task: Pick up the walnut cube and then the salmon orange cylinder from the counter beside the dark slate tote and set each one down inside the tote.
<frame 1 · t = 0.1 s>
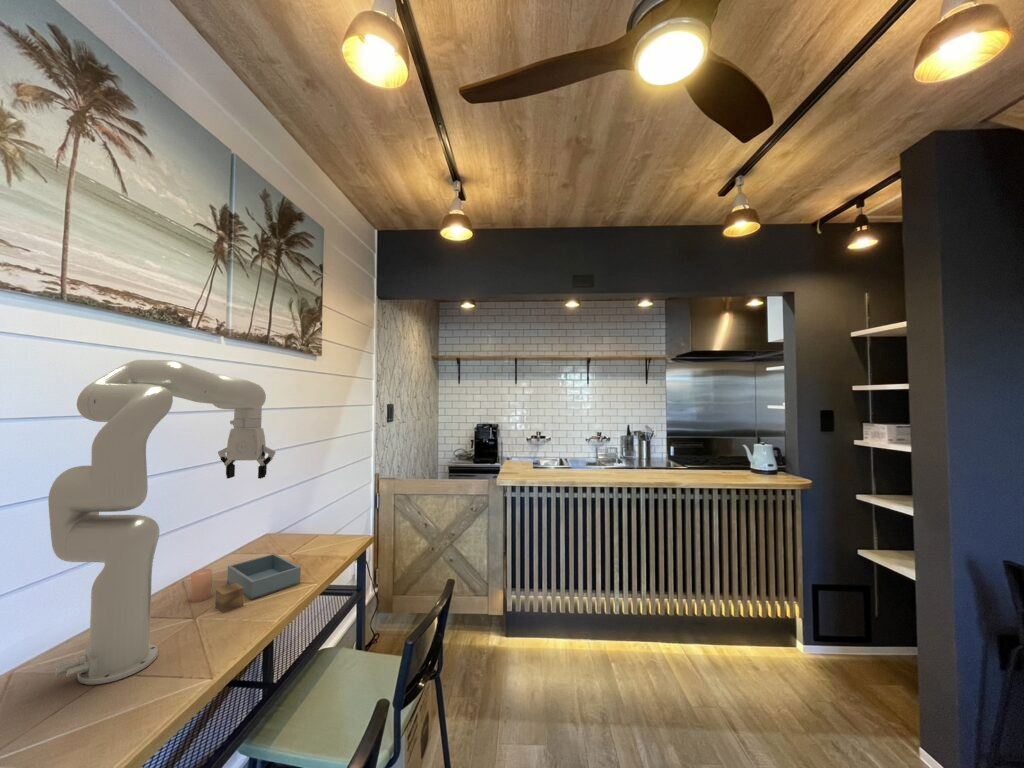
hand: (246, 477, 136), 31 cm above the table, fingers open, 9 cm apart
tote: (263, 583, 130), on the table
walnut cube: (229, 607, 116), on the table
salmon orange cylinder: (200, 597, 121), on the table
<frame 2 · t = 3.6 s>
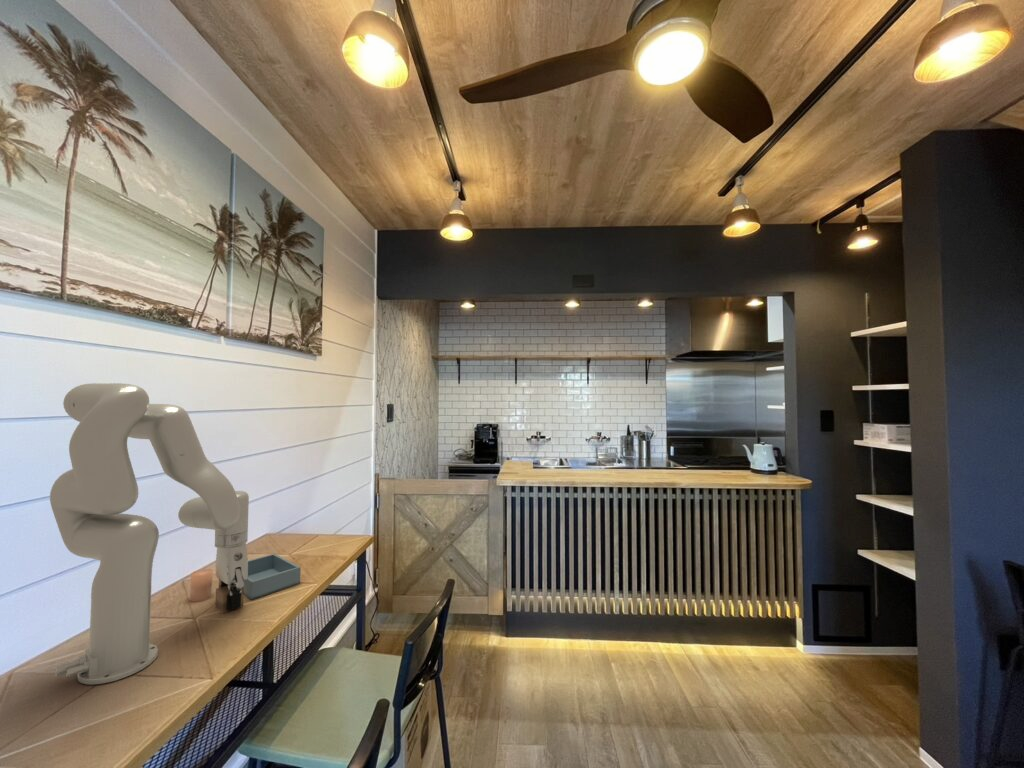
hand: (229, 604, 116), 0 cm above the table, fingers closed on walnut cube, 5 cm apart
walnut cube: (229, 606, 116), on the table, touching gripper
everything else where it was.
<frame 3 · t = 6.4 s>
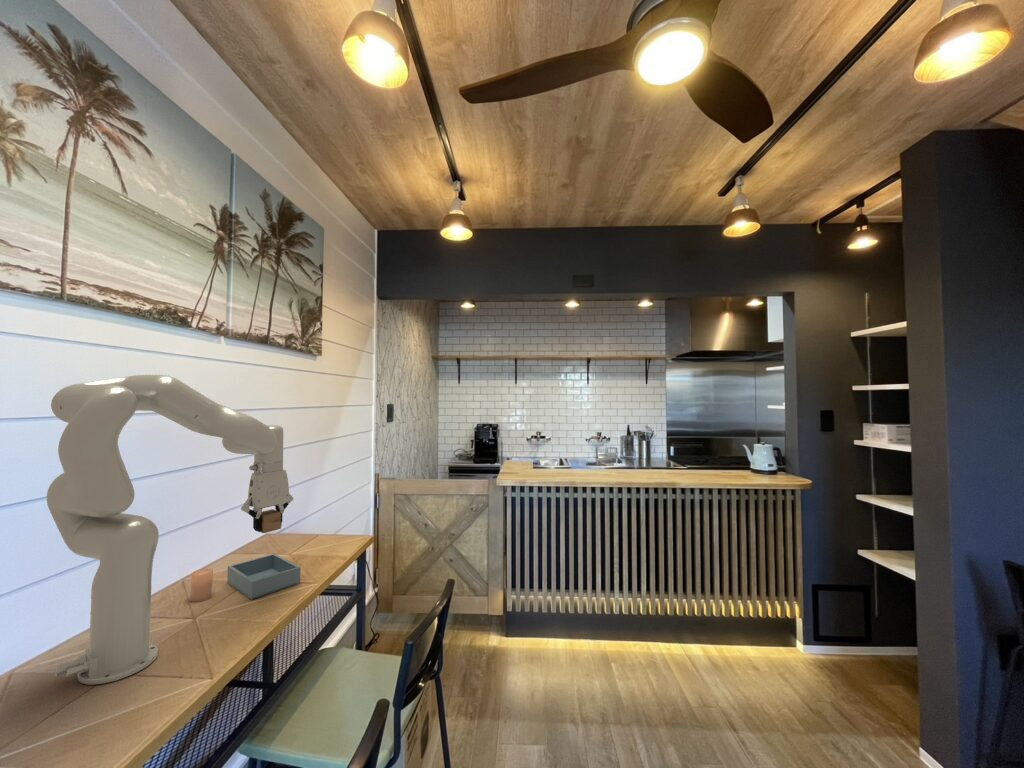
hand: (268, 527, 127), 18 cm above the table, fingers closed on walnut cube, 4 cm apart
walnut cube: (268, 529, 127), point 18 cm above the table, touching gripper
everything else where it was.
when the fingers open (4 cm above the table, at t = 9.5 s): walnut cube drops 3 cm, resting on tote.
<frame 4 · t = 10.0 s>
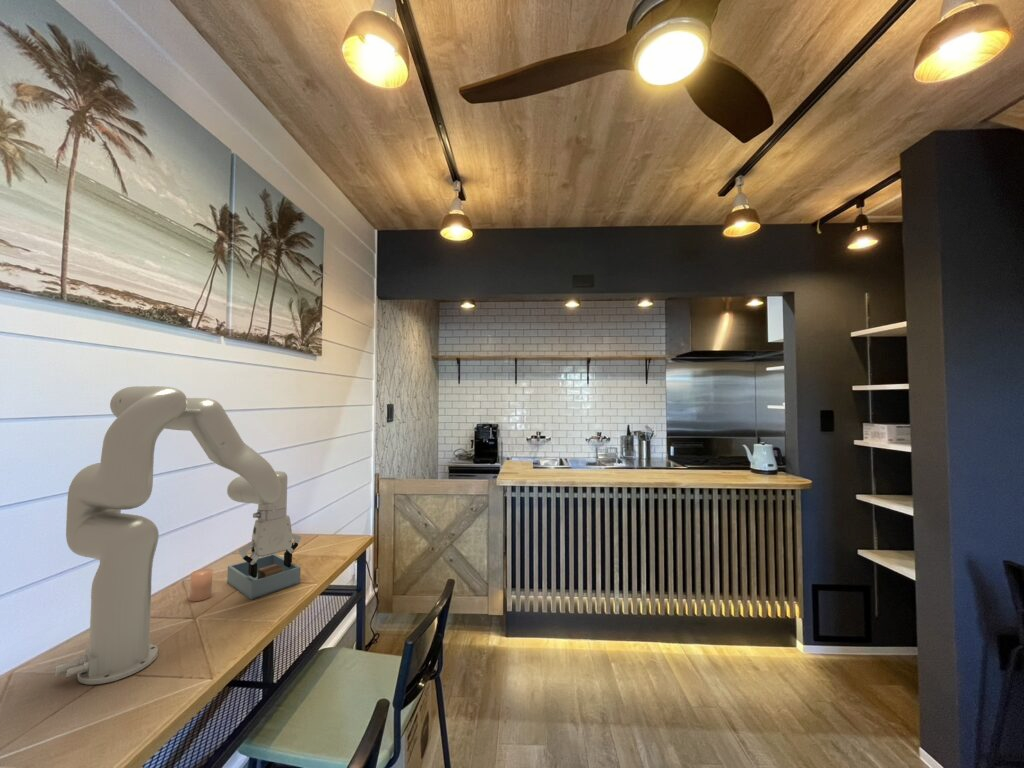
hand: (270, 571, 127), 5 cm above the table, fingers open, 9 cm apart
walnut cube: (270, 585, 127), point 1 cm above the table, touching tote
everything else where it was.
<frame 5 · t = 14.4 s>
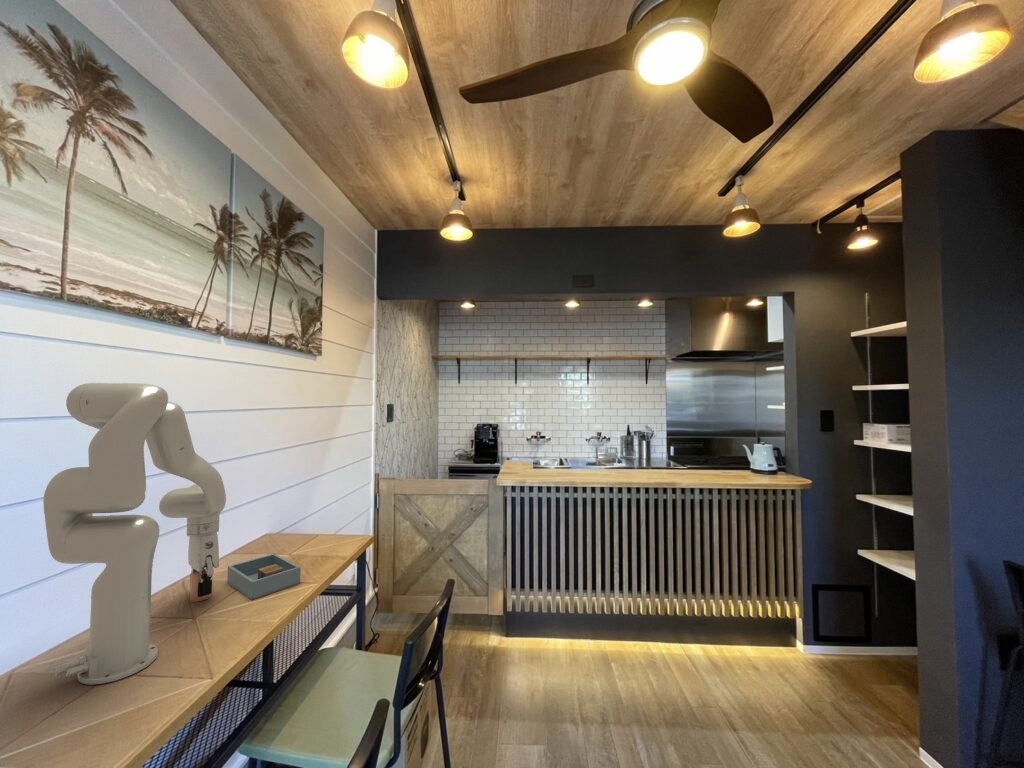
hand: (201, 591, 121), 2 cm above the table, fingers closed on salmon orange cylinder, 4 cm apart
salmon orange cylinder: (200, 597, 121), on the table, touching gripper
everything else where it was.
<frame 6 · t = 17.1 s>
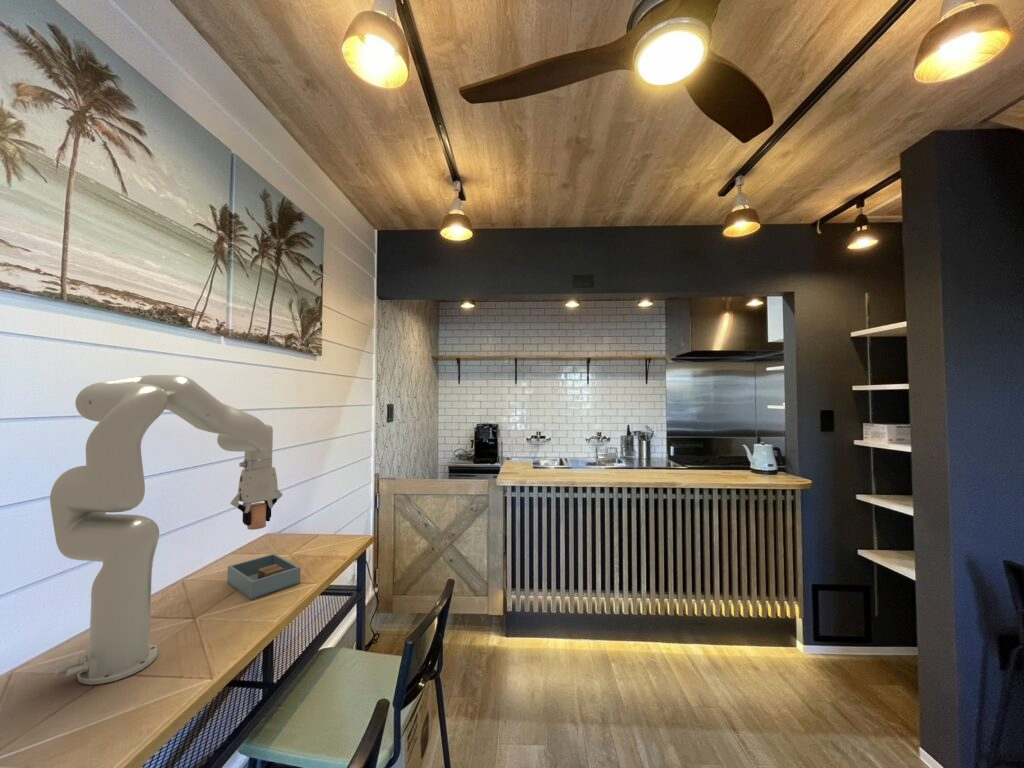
hand: (257, 522, 133), 18 cm above the table, fingers closed on salmon orange cylinder, 4 cm apart
salmon orange cylinder: (256, 527, 133), point 16 cm above the table, touching gripper
everything else where it was.
when the fingers open (5 cm above the table, at t = 20.0 s): salmon orange cylinder drops 2 cm, resting on tote.
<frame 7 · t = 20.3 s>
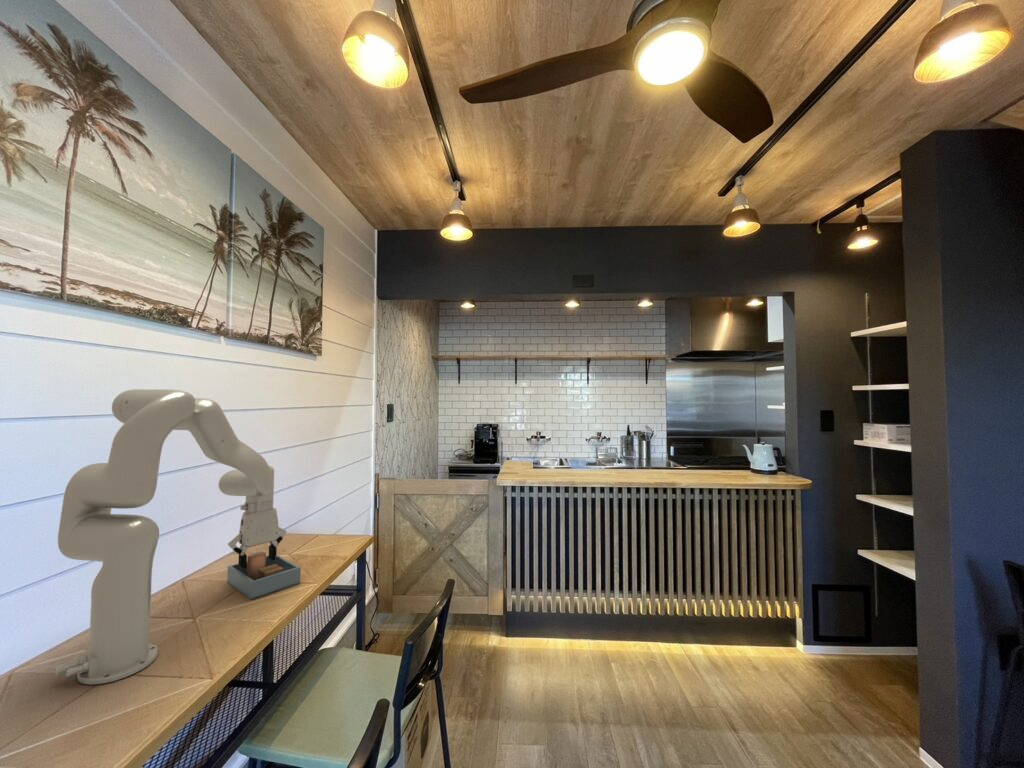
hand: (257, 562, 133), 5 cm above the table, fingers open, 7 cm apart
salmon orange cylinder: (256, 577, 132), point 1 cm above the table, touching tote
everything else where it was.
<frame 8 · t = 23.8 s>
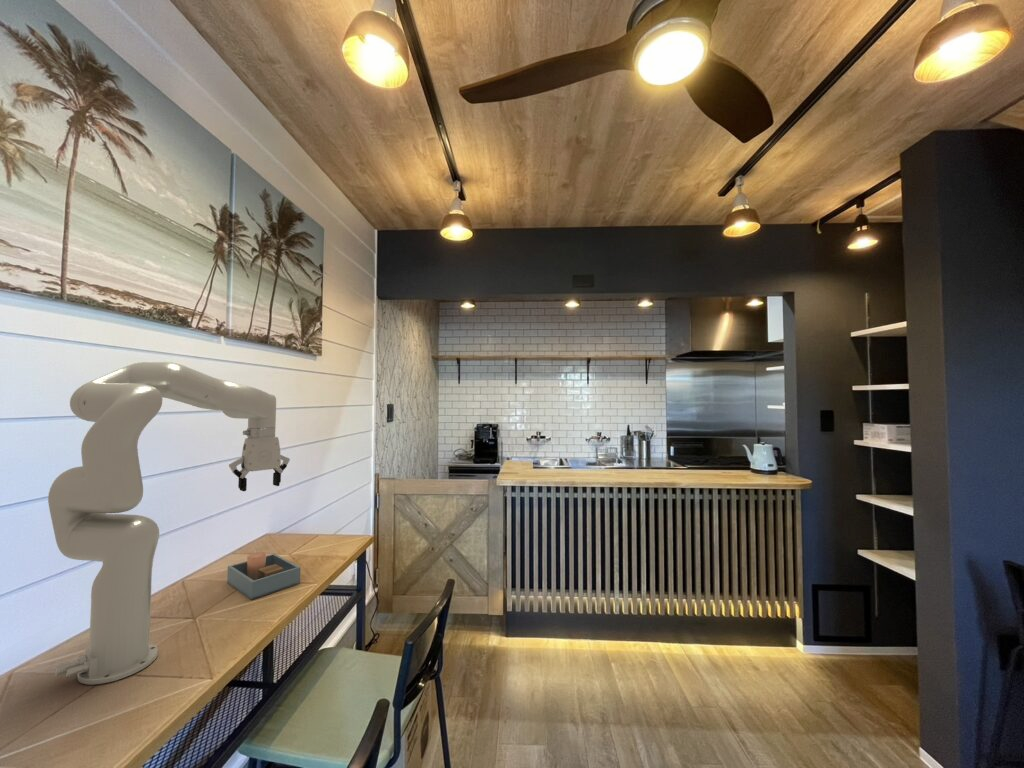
hand: (260, 488, 134), 28 cm above the table, fingers open, 9 cm apart
nothing on the table moved.
at the end: walnut cube inside the target area on the tote (4.5 cm from its centre), point 0.6 cm above the tote's base; salmon orange cylinder inside the target area on the tote (4.5 cm from its centre), point 0.6 cm above the tote's base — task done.
